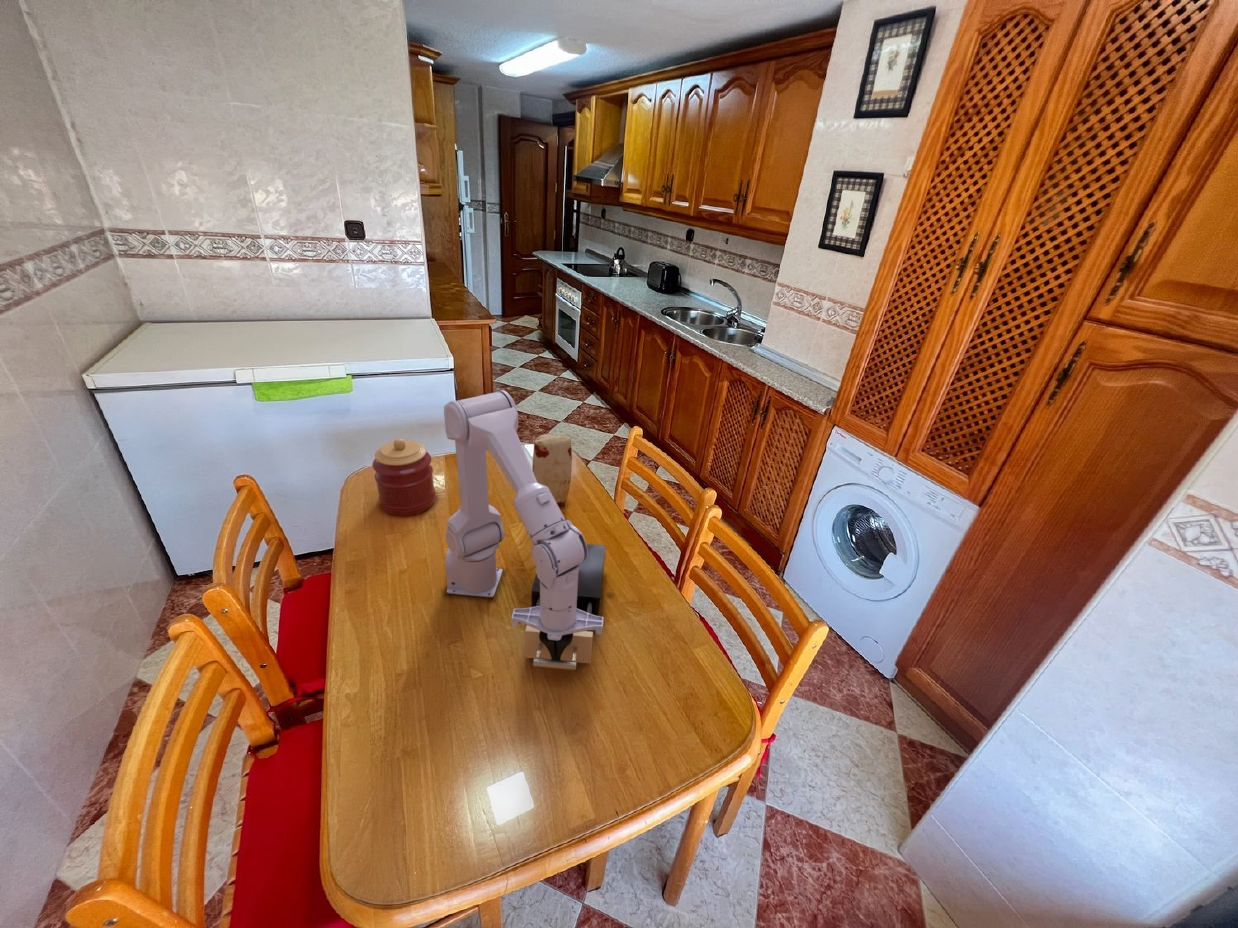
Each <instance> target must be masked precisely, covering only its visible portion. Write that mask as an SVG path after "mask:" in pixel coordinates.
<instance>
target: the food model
mask: <svg viewBox="0 0 1238 928" xmlns="http://www.w3.org/2000/svg"><path fill="white" fill-rule="evenodd" d="M572 451H573V450H572V440H571V438H570V436H568V435H564V434H560V435H559V434H554V433H543V434H541V435H539V436H537V437H536V438H535V440H534V443H533V451H532V452H533V453H532V466H531V468H532V471H533V473H534V476H535V478H536V480H537V482H538V483H539V484H541V485H544V486H547V487H548V488H549V490H550V492H551V493H552V495H553V497H554V499H555V501H556V503H557V505H558V507H561V506H563V505H565V504H566V502H567V500H568V497H569V493H570V488H571V482H572V481H571V480H572V473H573V452H572Z"/></svg>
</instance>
